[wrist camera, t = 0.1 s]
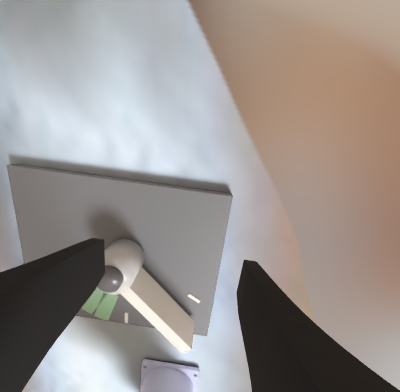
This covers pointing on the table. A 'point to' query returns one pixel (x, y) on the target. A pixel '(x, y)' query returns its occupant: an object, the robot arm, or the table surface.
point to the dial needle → (145, 293)
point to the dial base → (127, 232)
